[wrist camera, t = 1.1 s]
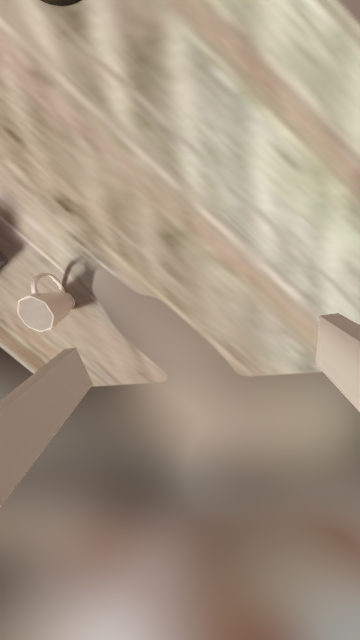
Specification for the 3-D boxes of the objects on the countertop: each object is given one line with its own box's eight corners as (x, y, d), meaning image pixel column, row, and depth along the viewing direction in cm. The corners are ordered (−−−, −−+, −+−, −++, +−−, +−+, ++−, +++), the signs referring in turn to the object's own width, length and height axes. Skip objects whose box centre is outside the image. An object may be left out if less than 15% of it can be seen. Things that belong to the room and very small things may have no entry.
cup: (54, 315, 42) (22, 331, 35) (42, 269, 38) (4, 276, 31) (84, 317, 41) (58, 334, 34) (75, 271, 37) (44, 278, 30)
